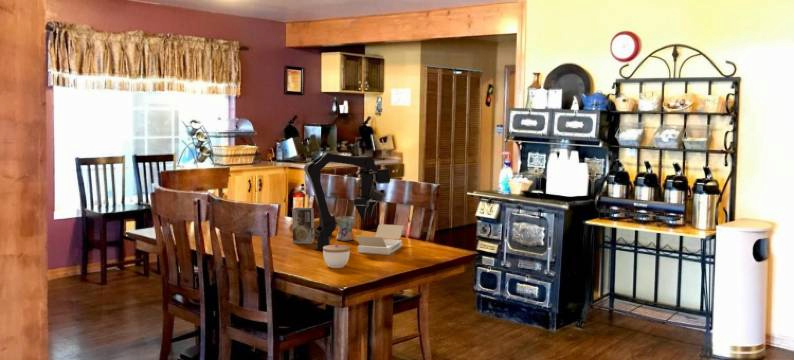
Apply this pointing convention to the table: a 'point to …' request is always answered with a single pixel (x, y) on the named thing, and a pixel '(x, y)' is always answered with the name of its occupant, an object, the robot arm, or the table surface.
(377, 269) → the table surface
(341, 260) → the lidded jar
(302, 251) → the table surface
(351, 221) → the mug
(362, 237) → the near flap
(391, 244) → the carton
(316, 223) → the bread
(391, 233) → the far flap
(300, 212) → the coffee box
